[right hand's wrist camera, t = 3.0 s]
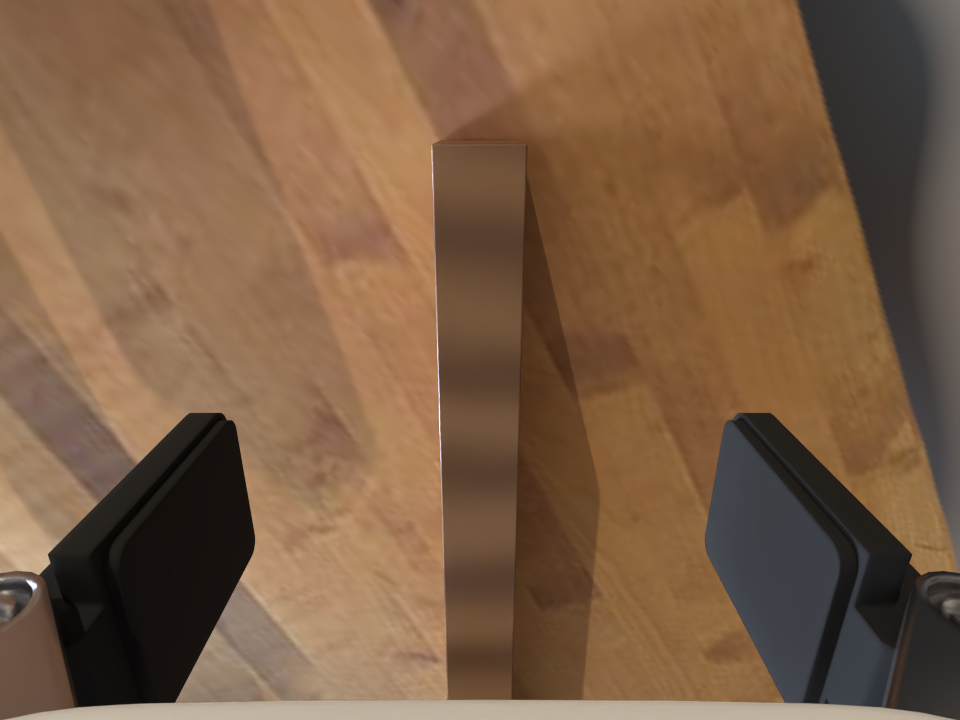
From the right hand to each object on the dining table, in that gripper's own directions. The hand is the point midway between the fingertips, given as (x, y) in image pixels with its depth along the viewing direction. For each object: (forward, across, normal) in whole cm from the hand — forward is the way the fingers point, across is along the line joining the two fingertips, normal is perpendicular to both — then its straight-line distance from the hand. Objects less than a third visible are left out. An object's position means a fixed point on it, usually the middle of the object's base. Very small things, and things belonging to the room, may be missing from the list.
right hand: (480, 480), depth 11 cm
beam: (+27, 0, -21) cm, 34 cm away
